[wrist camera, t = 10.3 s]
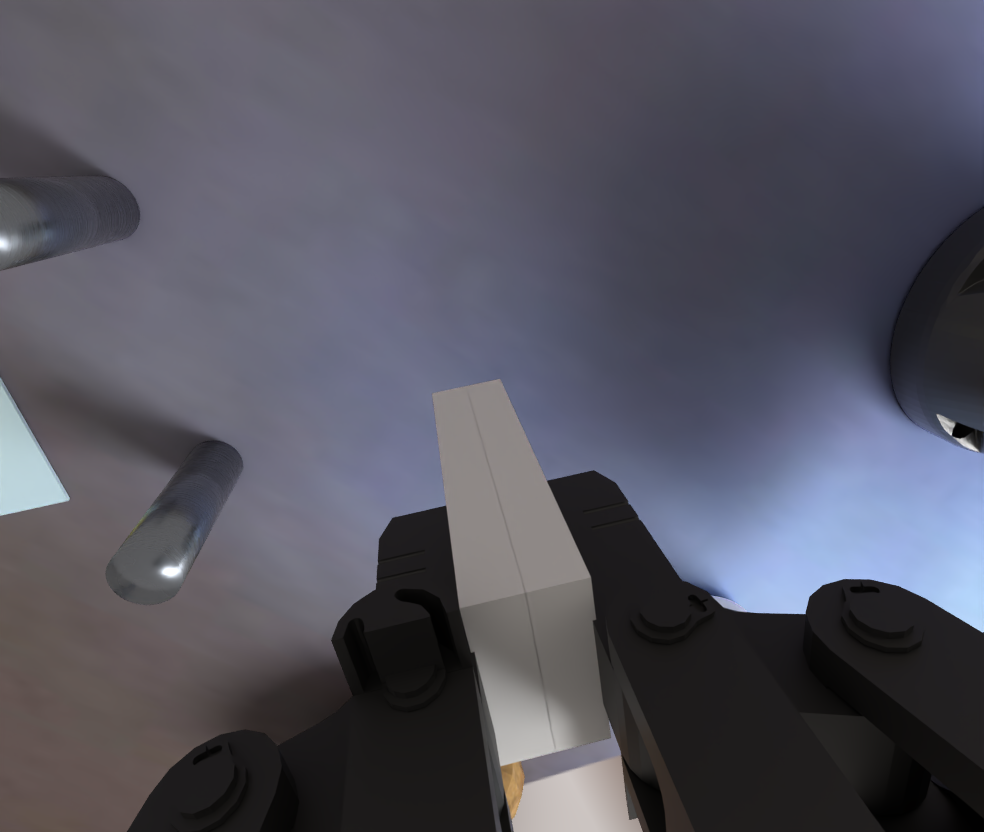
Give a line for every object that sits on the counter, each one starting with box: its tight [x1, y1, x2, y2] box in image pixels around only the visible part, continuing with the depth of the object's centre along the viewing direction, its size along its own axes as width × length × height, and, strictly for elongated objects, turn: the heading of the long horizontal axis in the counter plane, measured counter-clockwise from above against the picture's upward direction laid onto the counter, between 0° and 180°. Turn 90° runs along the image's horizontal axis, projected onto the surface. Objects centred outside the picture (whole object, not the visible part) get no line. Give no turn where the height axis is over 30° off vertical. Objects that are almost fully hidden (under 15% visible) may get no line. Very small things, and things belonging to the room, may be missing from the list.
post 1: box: [0, 176, 140, 271], centre depth 20 cm, size 3×3×9 cm
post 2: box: [106, 441, 243, 605], centre depth 25 cm, size 3×3×9 cm
